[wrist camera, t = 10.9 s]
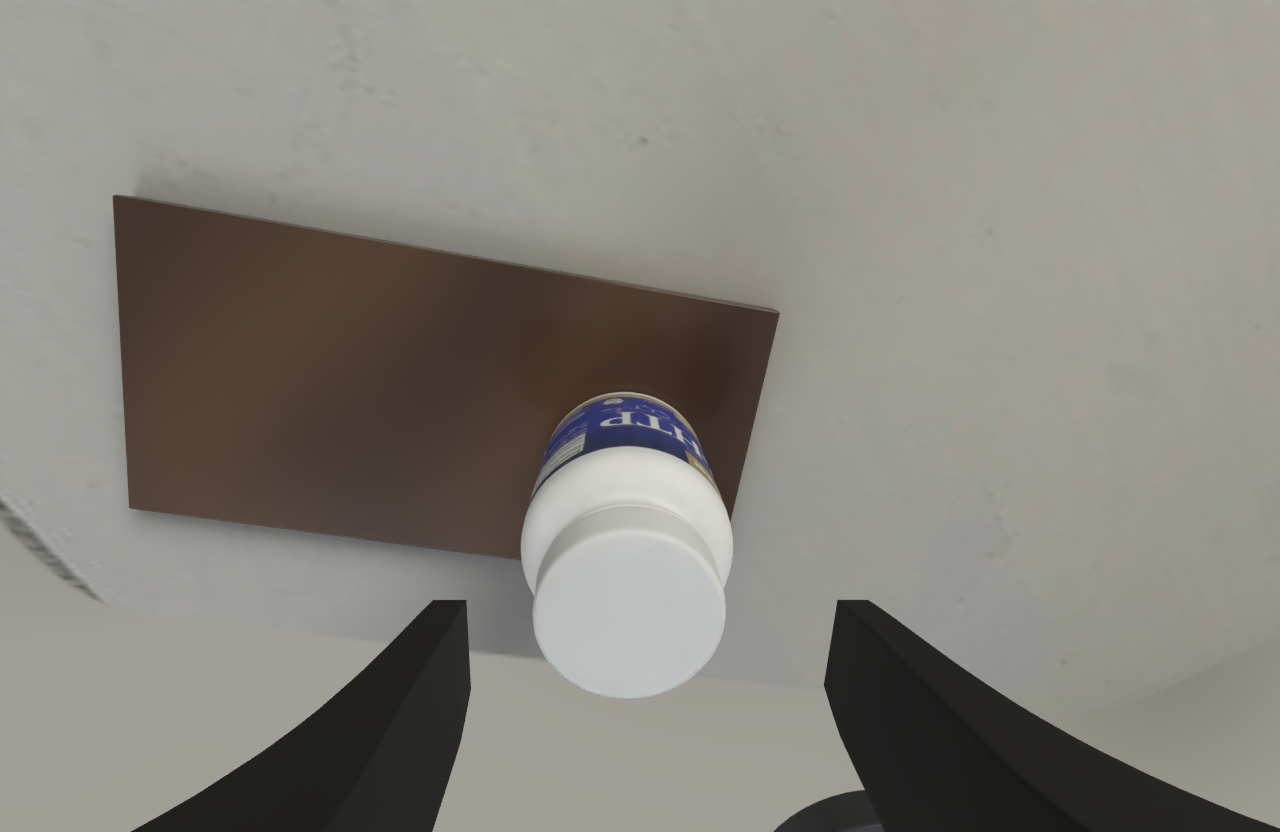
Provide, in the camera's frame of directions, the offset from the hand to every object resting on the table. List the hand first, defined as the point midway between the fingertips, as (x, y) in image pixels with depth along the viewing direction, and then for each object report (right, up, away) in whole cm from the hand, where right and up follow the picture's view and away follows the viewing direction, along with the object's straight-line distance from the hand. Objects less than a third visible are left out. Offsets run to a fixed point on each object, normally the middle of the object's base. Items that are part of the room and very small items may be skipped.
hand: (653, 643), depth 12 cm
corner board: (-7, +5, +9) cm, 12 cm away
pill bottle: (-1, +3, +9) cm, 10 cm away
